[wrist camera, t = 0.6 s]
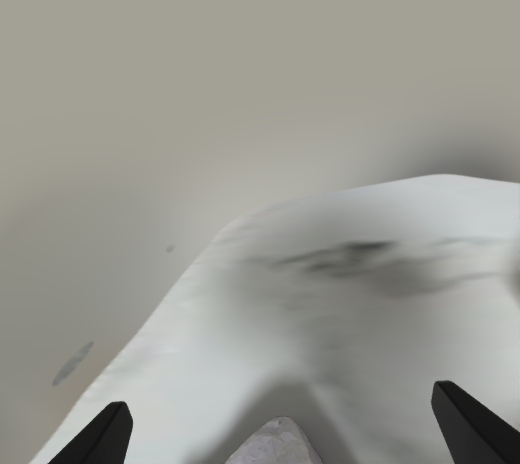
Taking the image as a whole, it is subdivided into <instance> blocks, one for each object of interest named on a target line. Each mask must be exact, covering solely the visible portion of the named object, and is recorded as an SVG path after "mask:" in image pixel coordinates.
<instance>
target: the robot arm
mask: <svg viewBox="0 0 520 464" xmlns="http://www.w3.org/2000/svg"><path fill="white" fill-rule="evenodd" d="M431 405H432V409H433V412H434V414H435V417H436V419H437V422H438V424H439V426H440V429H441V431H442V434H443V436H444V439H445V441H446V444H447V446H448V448H449V451H450V453H451V456H452V458H453V461H454V463H455V464H520V432H518V431H517V430H516V429H515V428H513V427H512V426H511V425H509V424H508V423H507V422H505V421H504V420H503V419H501V418H500V417H499V416H497V415H496V414H495V413H493V412H492V411H491V410H489V409H488V408H487V407H485V406H484V405H483V404H481V403H480V402H479V401H477V400H476V399H475V398H473V397H472V396H471V395H470V394H468V393H467V392H466V391H464V390H463V389H462V388H460V387H459V386H458V385H456V384H455V383H454V382H452V381H448V380H446V381H436V382H435V383H434V387H433V393H432V399H431ZM132 428H133V419H132V416H131V414H130V411H129V408H128V406H127V404H126V402H124V401H119V402H111V403H110V404H108V405H107V406H106V407H105V408H104V409H103V410H102V411H101V412H100V413H99V414H98V415H97V416H96V417H95V418H94V419H93V420H92V421H91V422H90V423H89V424H88V425H87V426H86V427H85V428H84V429H83V430H82V431H81V432H80V433H79V434H77V435H76V436H75V437H74V438H73V439H72V440H71V441H70V442H69V443H68V444H67V445H66V446H65V447H64V448H63V449H62V450H61V451H60V452H59V453H58V454H57V455H56V456H55V457H54V458H53V459H52V460H51V461H50V462H49V463H48V464H124V460H125V456H126V452H127V448H128V444H129V440H130V436H131V432H132Z"/></svg>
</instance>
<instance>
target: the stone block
mask: <svg viewBox="0 0 520 464" xmlns="http://www.w3.org/2000/svg"><path fill="white" fill-rule="evenodd" d="M224 464H323V463H322V461H321V459H320V457H319V455H318V454H317V453H316V451H315V449H314V448H313V446H312V445H311V443H310V441H309V440H308V438H307V436H306V434H305V433H304V432H303V430H302V429H301V428H300V427H299V426H298V424H297V423H295V422H294V421H292V419H291V418H290V417H288V416H286V417H276V418H275V419H271V420H269V421H268V422H267V423H265V424H264V425H263V426H262V427H261V428H260V429H258V430H257V431H256V432H255V433H254V434H252V435H251V436H250V437H249V438H248V439H247V440H246V441H245V442H244V443H243V444H242V445H241V446H240V447H239V448H238V449H237V450H236V451H235V452H234V453H233V454H232V455H231V456H230V457H229V458H228V459H227V460H226V461H225V463H224Z"/></svg>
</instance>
